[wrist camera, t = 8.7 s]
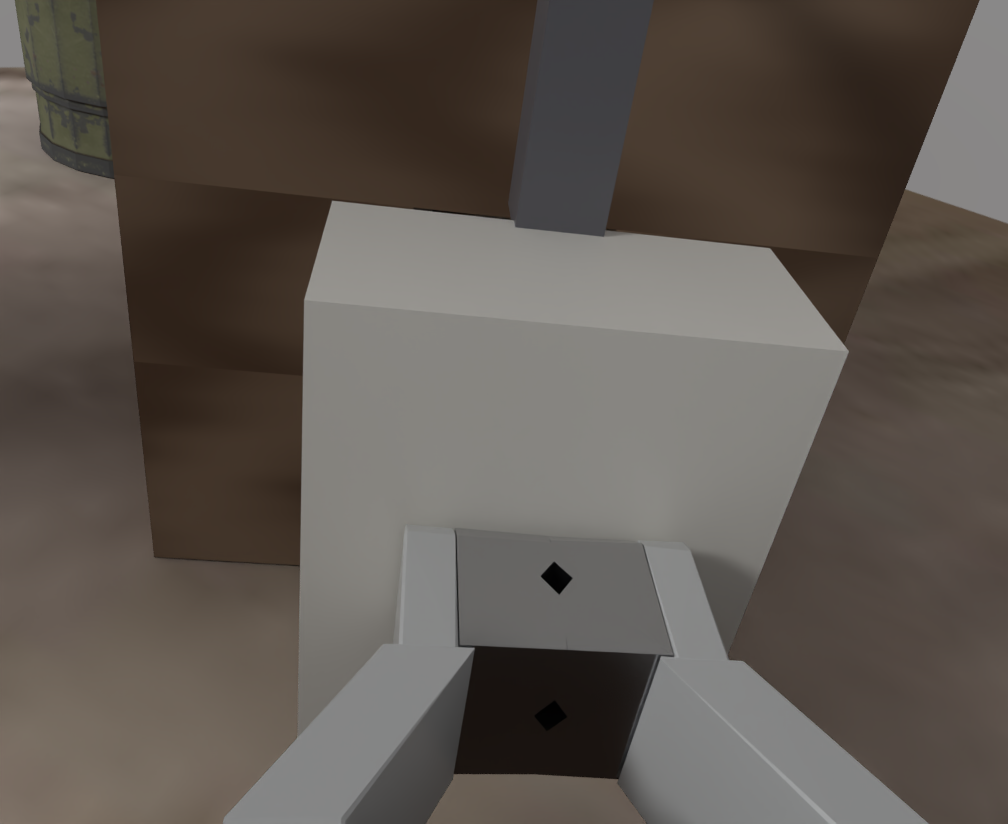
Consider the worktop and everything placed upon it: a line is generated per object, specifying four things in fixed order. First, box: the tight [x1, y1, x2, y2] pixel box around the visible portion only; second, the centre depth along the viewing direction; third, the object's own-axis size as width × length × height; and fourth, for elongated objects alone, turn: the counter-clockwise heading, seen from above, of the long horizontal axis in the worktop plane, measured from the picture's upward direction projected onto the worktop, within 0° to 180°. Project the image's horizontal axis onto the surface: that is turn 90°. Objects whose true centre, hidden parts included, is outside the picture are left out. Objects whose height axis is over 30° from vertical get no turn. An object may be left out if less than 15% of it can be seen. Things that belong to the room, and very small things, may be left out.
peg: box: [297, 0, 849, 738], centre depth 15 cm, size 5×16×10 cm, turn 3°
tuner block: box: [96, 0, 979, 565], centre depth 20 cm, size 12×12×12 cm
